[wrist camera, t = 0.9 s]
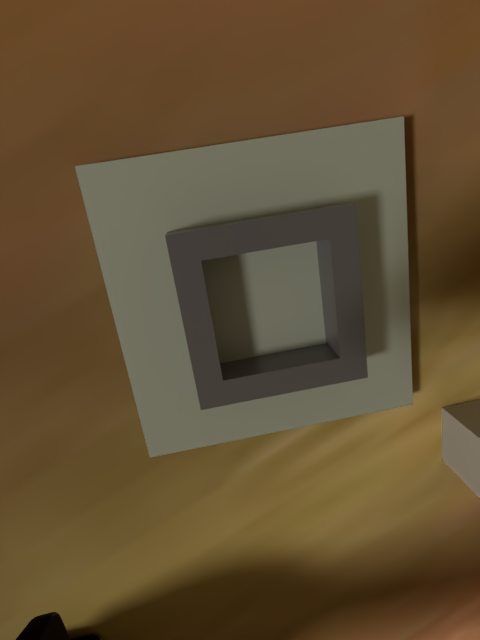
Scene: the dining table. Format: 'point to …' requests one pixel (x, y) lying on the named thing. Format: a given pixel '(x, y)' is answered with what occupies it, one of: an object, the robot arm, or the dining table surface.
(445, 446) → the connector plug
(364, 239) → the end holder
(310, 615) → the dining table surface
